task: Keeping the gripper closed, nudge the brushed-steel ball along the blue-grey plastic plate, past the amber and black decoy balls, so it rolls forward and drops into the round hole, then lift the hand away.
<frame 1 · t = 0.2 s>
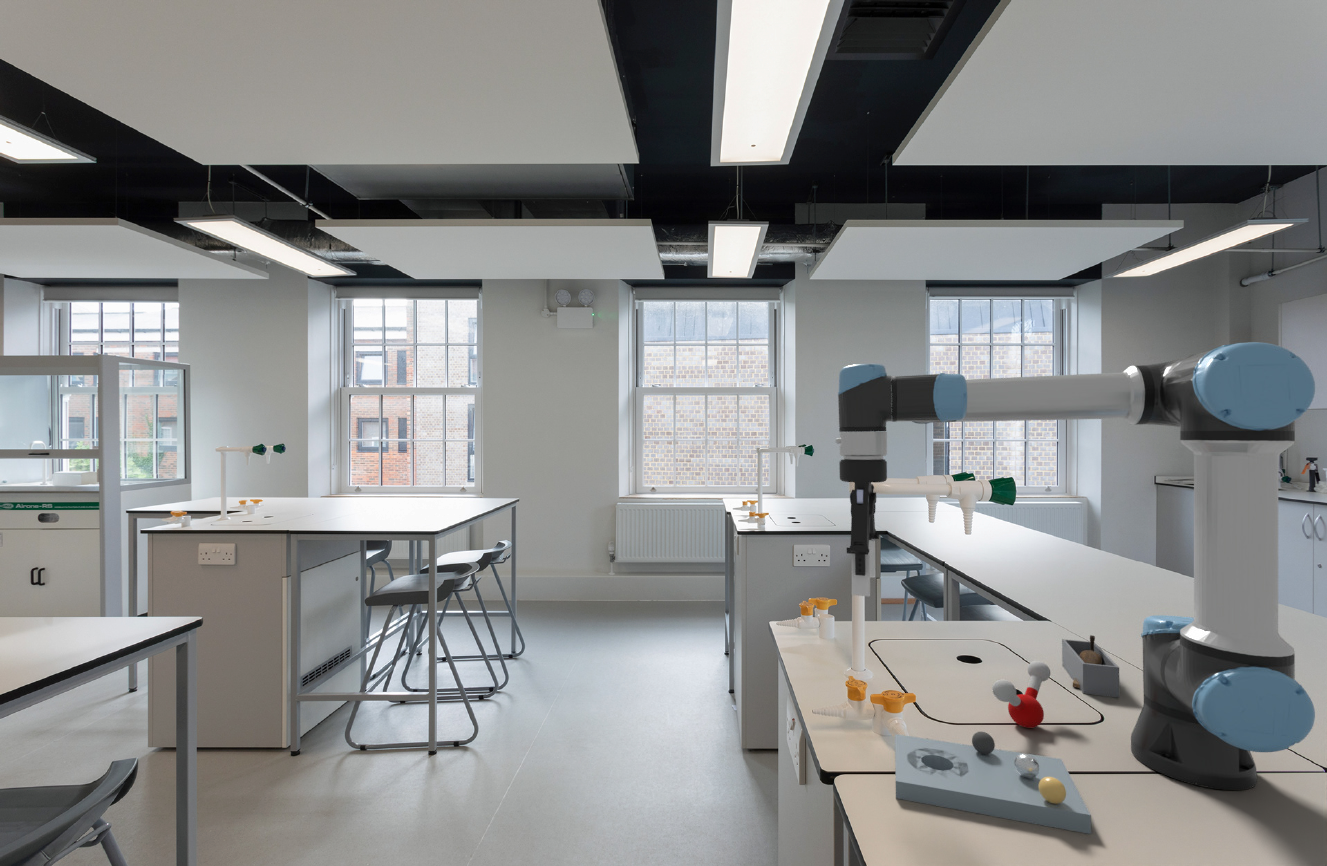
hand: (864, 585, 102), 28 cm above the lab bench, fingers open, 13 cm apart
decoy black: (983, 742, 97), point 4 cm above the lab bench, touching plate
open storage box: (1089, 680, 131), on the lab bench
molecular model: (1024, 727, 111), on the lab bench
steel ball: (1026, 765, 90), point 4 cm above the lab bench, touching plate
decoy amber: (1052, 789, 84), point 4 cm above the lab bench, touching plate
plate: (981, 786, 92), on the lab bench
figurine: (1089, 680, 132), resting in open storage box
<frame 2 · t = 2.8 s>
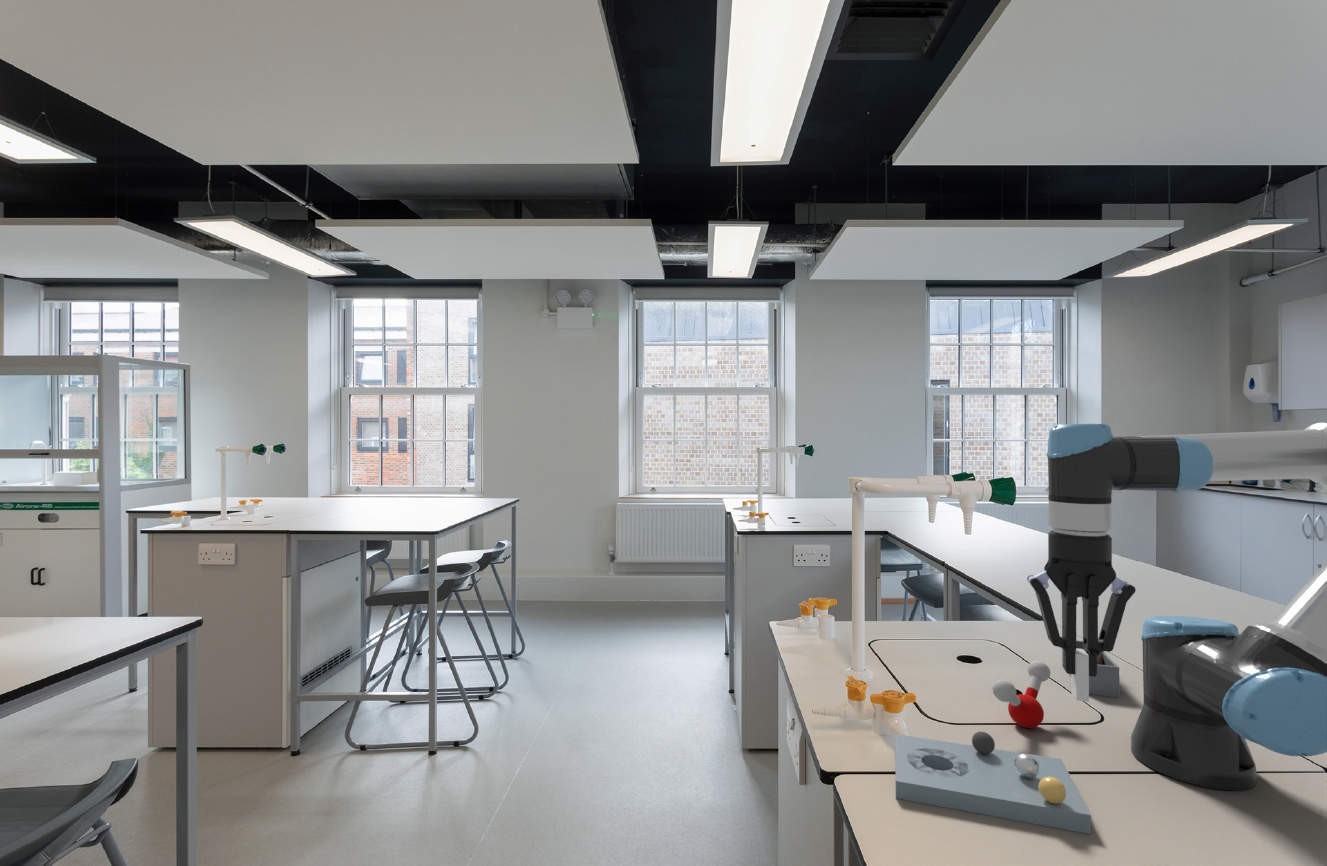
hand: (1079, 696, 88), 15 cm above the lab bench, fingers closed
nothing on the lab bench moved.
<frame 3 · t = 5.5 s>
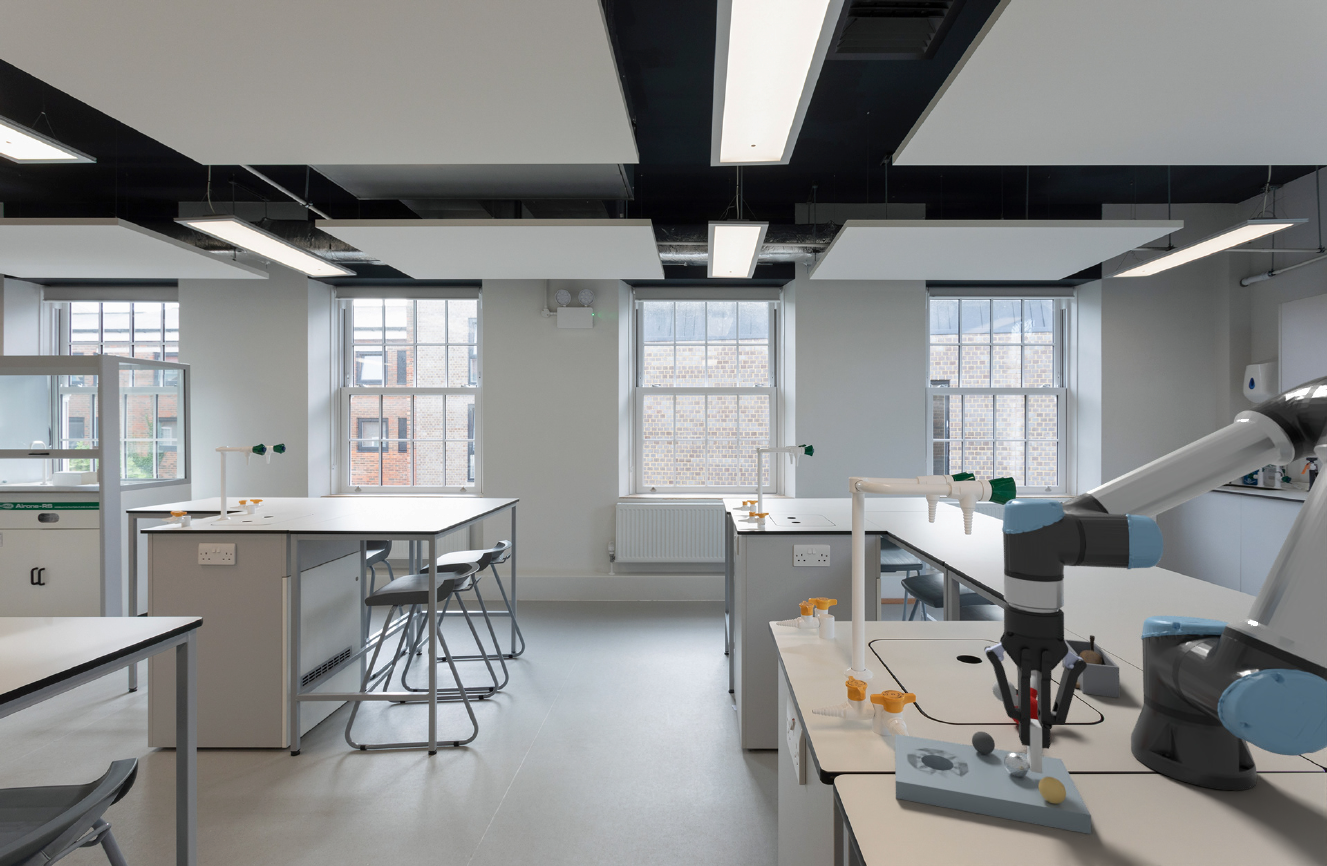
hand: (1034, 767, 90), 4 cm above the lab bench, fingers closed
steel ball: (1016, 764, 90), point 4 cm above the lab bench, tilted 47°, touching gripper, plate
everything else where it was.
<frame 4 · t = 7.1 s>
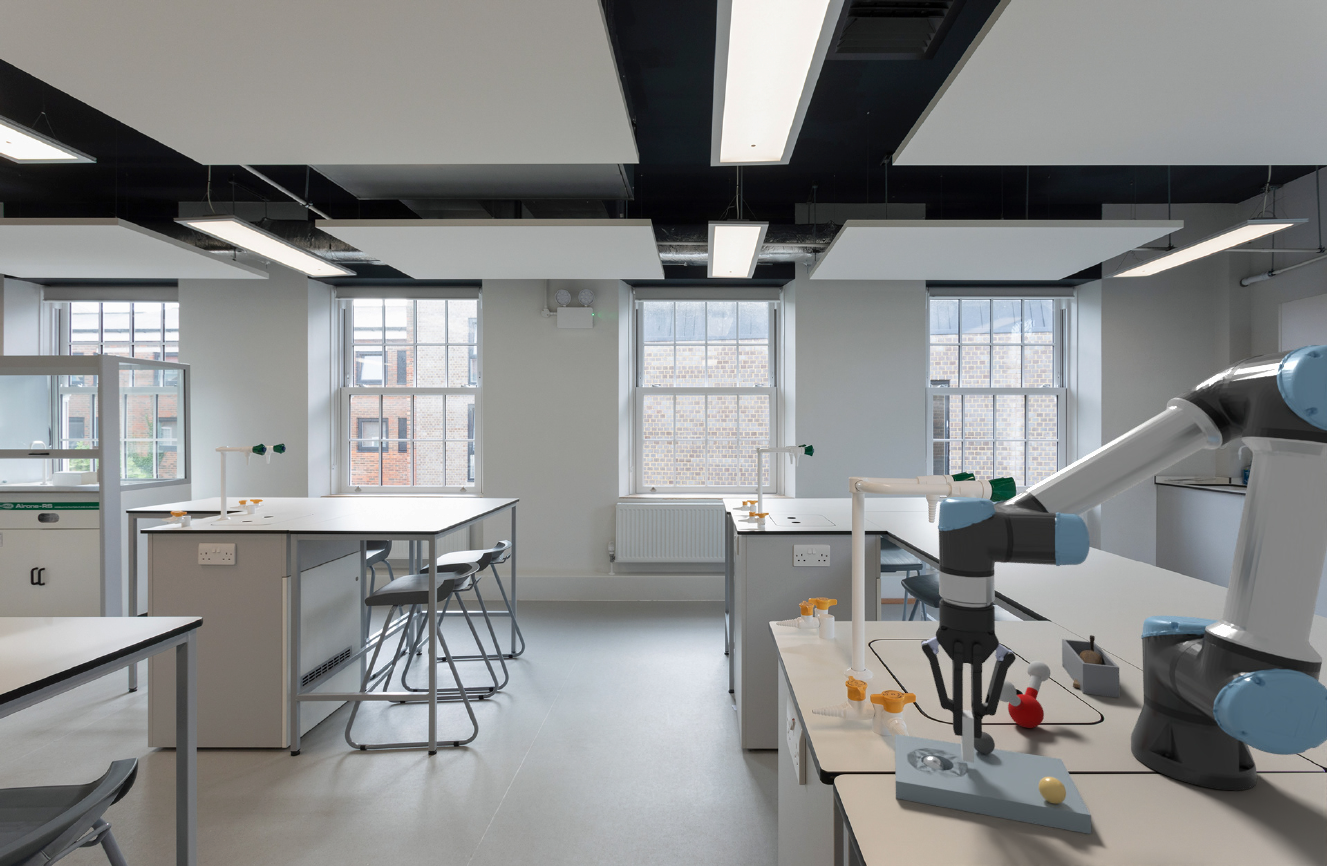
hand: (967, 757, 93), 4 cm above the lab bench, fingers closed
steel ball: (932, 767, 94), point 2 cm above the lab bench, tilted 136°
everything else where it was.
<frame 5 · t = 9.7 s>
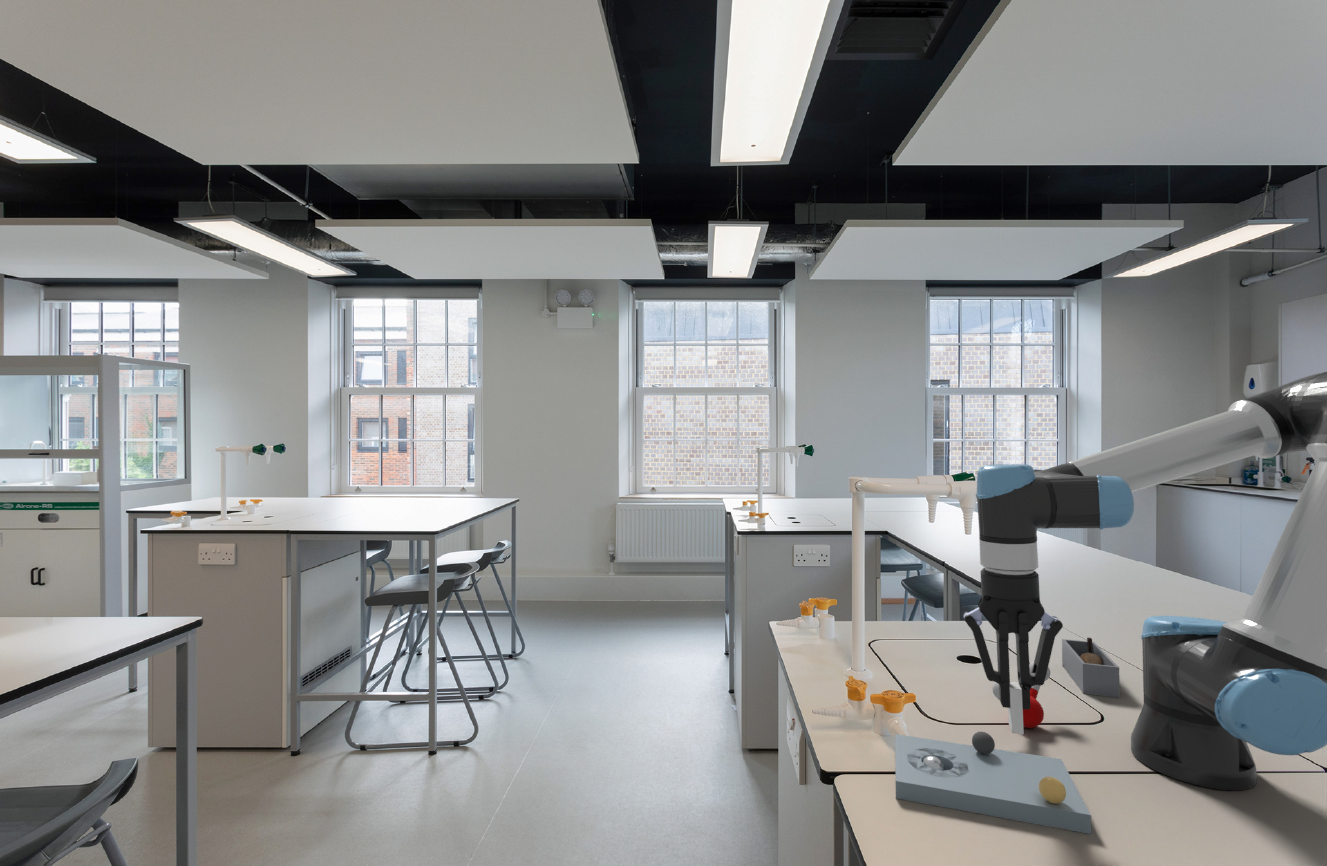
hand: (1016, 729, 91), 9 cm above the lab bench, fingers closed
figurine: (1090, 683, 132), resting in open storage box
everything else where it was.
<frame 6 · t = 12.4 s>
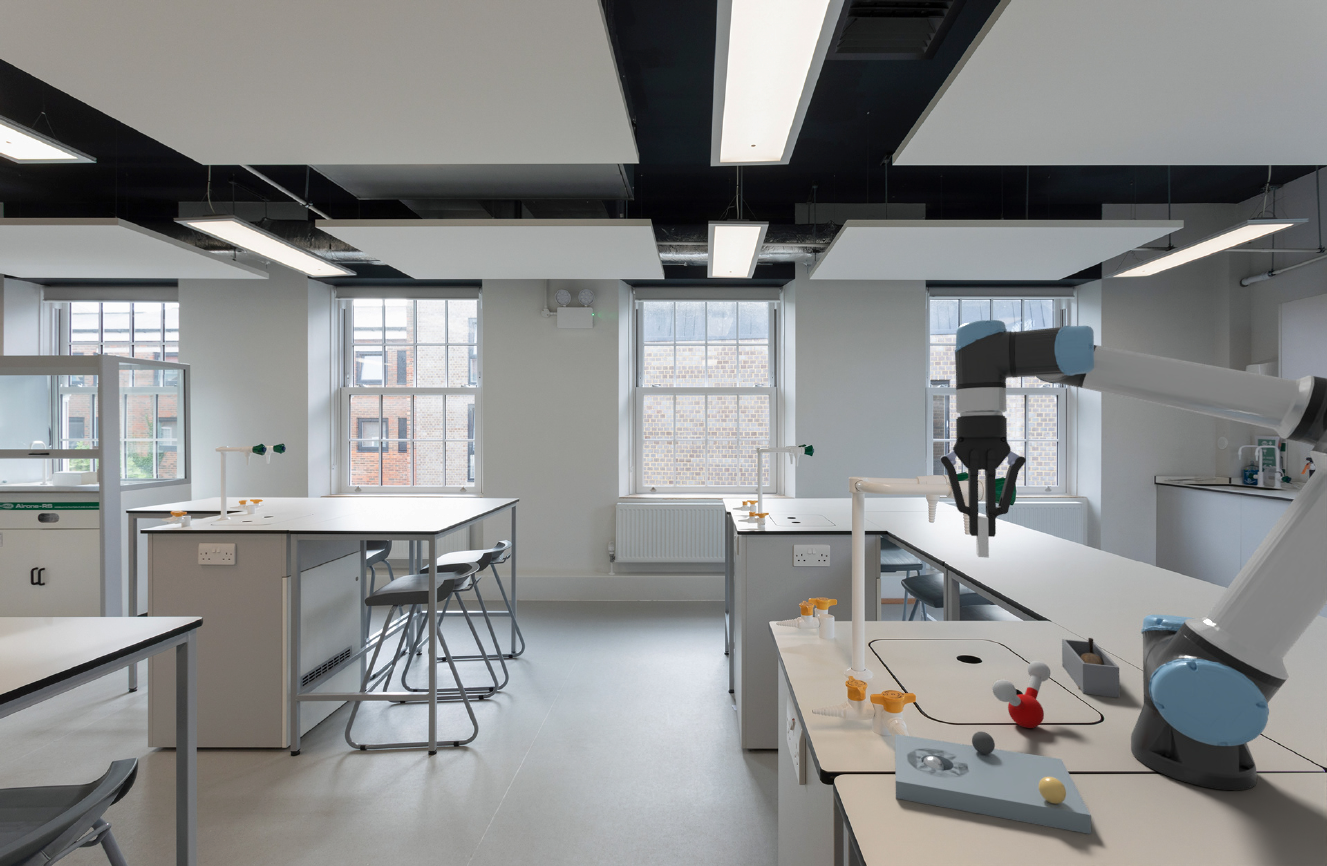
hand: (982, 555, 103), 32 cm above the lab bench, fingers closed
nothing on the lab bench moved.
at the end: steel ball 0.6 cm from the target spot in the plate, point 1.6 cm above the plate's base; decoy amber moved 0.1 cm from its start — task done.
